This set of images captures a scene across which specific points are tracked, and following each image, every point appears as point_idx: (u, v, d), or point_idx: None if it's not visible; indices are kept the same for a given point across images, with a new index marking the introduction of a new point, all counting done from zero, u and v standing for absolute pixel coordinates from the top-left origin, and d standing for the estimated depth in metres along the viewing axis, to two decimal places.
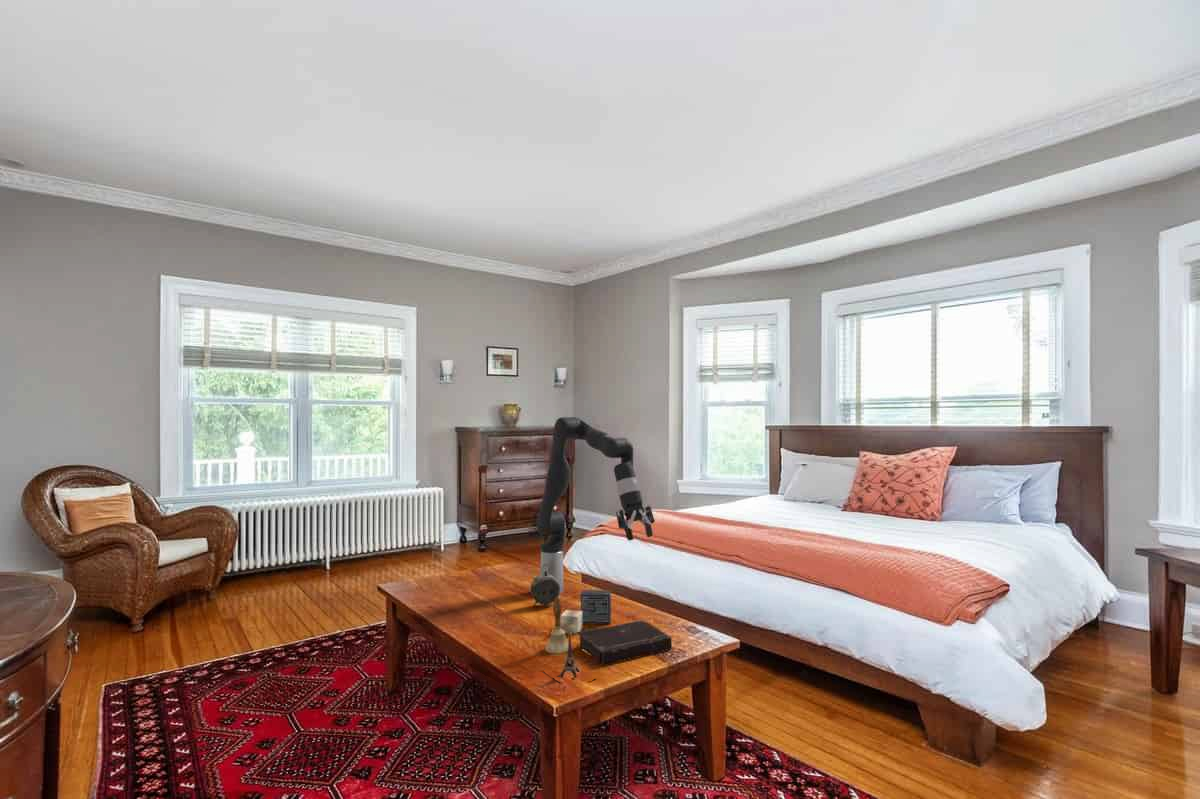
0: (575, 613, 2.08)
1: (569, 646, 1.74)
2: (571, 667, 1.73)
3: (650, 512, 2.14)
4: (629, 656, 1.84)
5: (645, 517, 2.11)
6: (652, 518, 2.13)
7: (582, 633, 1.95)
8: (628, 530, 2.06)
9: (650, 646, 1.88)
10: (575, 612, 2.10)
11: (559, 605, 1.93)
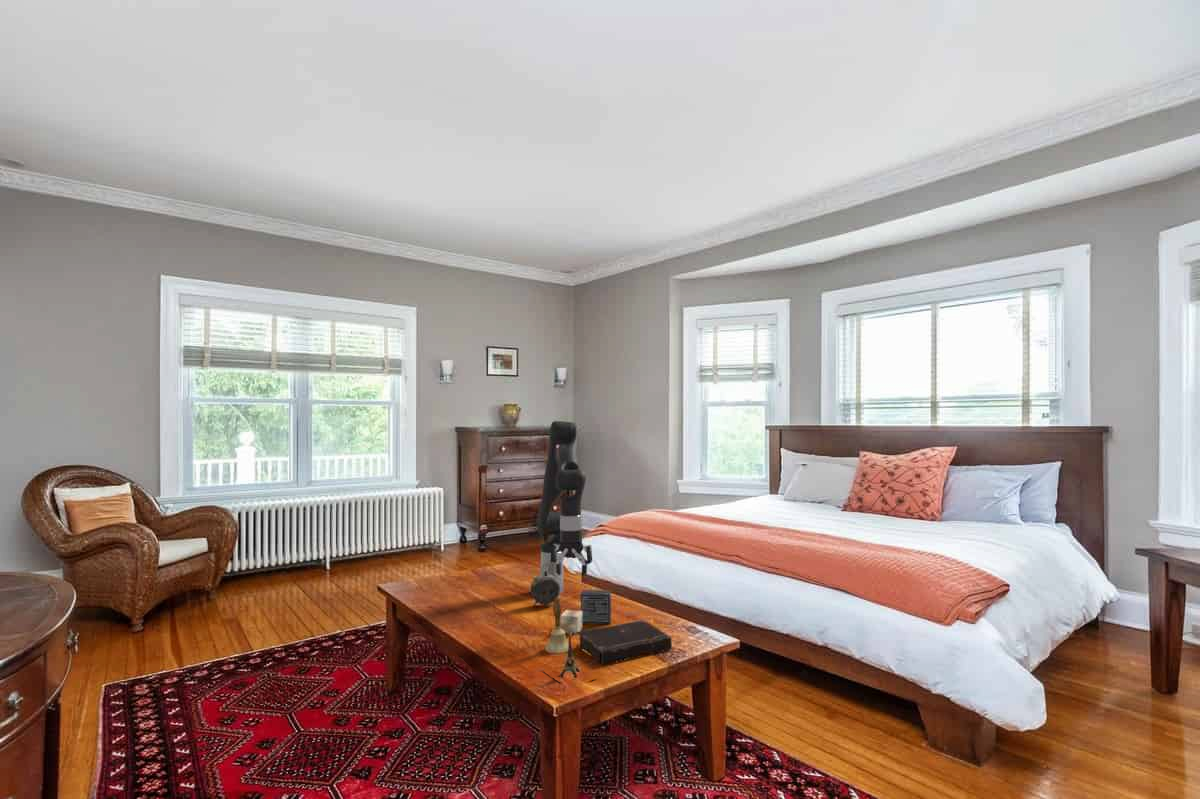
0: (575, 613, 2.08)
1: (569, 646, 1.74)
2: (571, 667, 1.73)
3: (588, 553, 2.07)
4: (629, 656, 1.84)
5: (578, 557, 2.07)
6: (588, 559, 2.07)
7: (582, 633, 1.95)
8: (557, 565, 2.10)
9: (649, 646, 1.88)
10: (575, 612, 2.10)
11: (559, 605, 1.93)
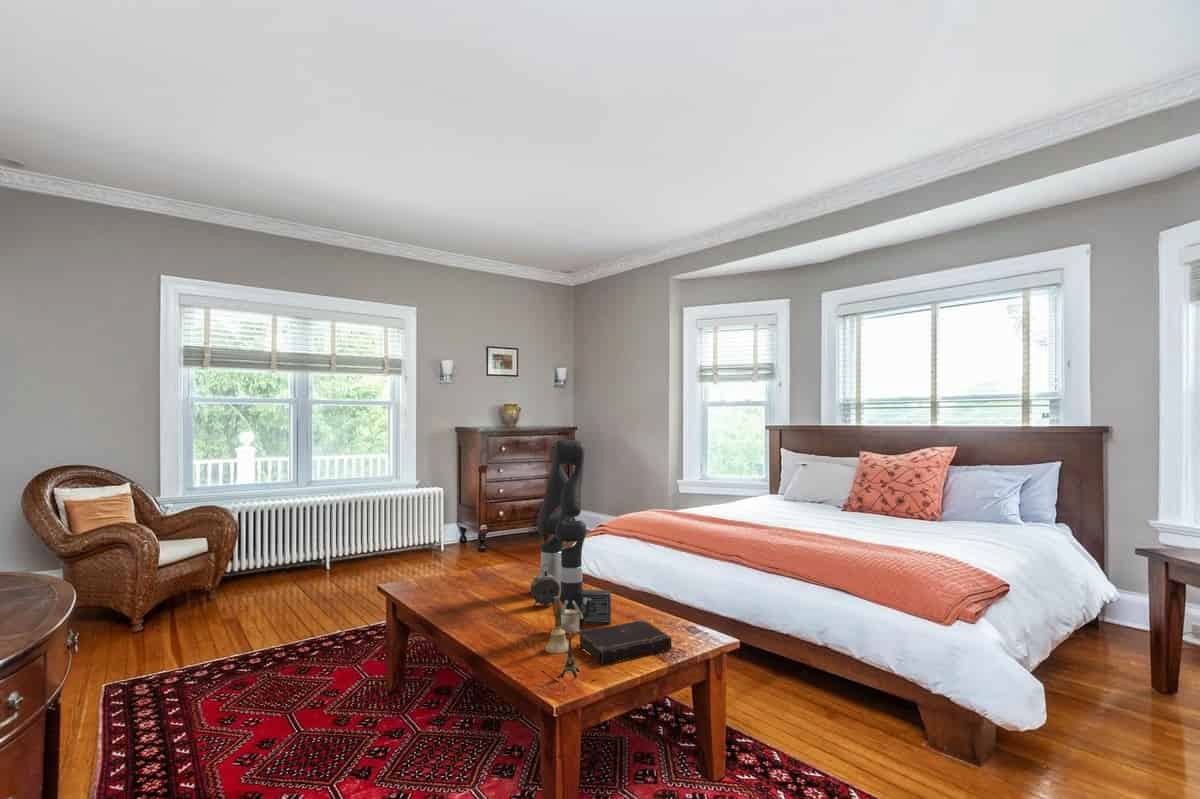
0: (575, 613, 2.08)
1: (569, 646, 1.74)
2: (571, 667, 1.72)
3: (587, 606, 2.06)
4: (629, 656, 1.84)
5: (577, 610, 2.07)
6: (586, 613, 2.06)
7: (582, 633, 1.95)
8: (560, 618, 2.09)
9: (649, 646, 1.88)
10: (575, 612, 2.10)
11: (559, 605, 1.93)
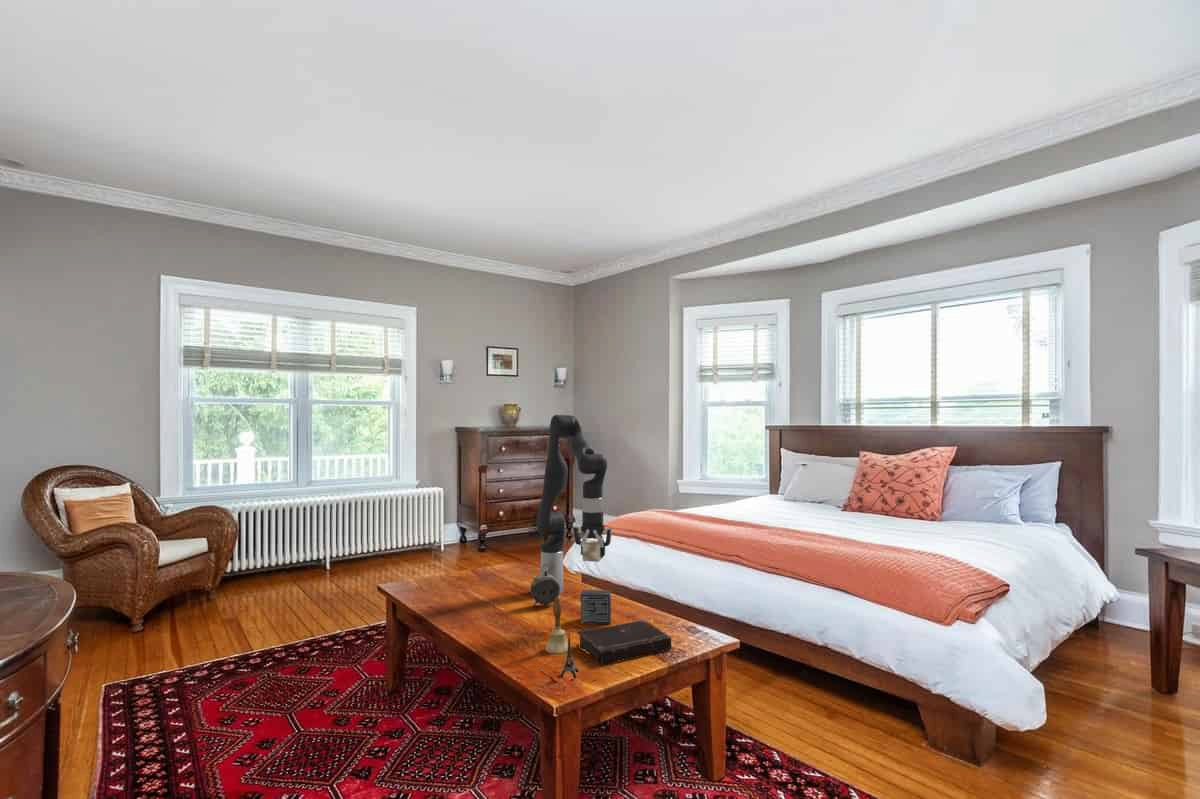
0: (596, 542, 2.17)
1: (569, 647, 1.73)
2: (571, 668, 1.72)
3: (607, 535, 2.15)
4: (628, 656, 1.84)
5: (598, 539, 2.16)
6: (607, 541, 2.15)
7: (582, 633, 1.95)
8: (581, 547, 2.18)
9: (649, 646, 1.88)
10: (596, 541, 2.19)
11: (559, 605, 1.93)
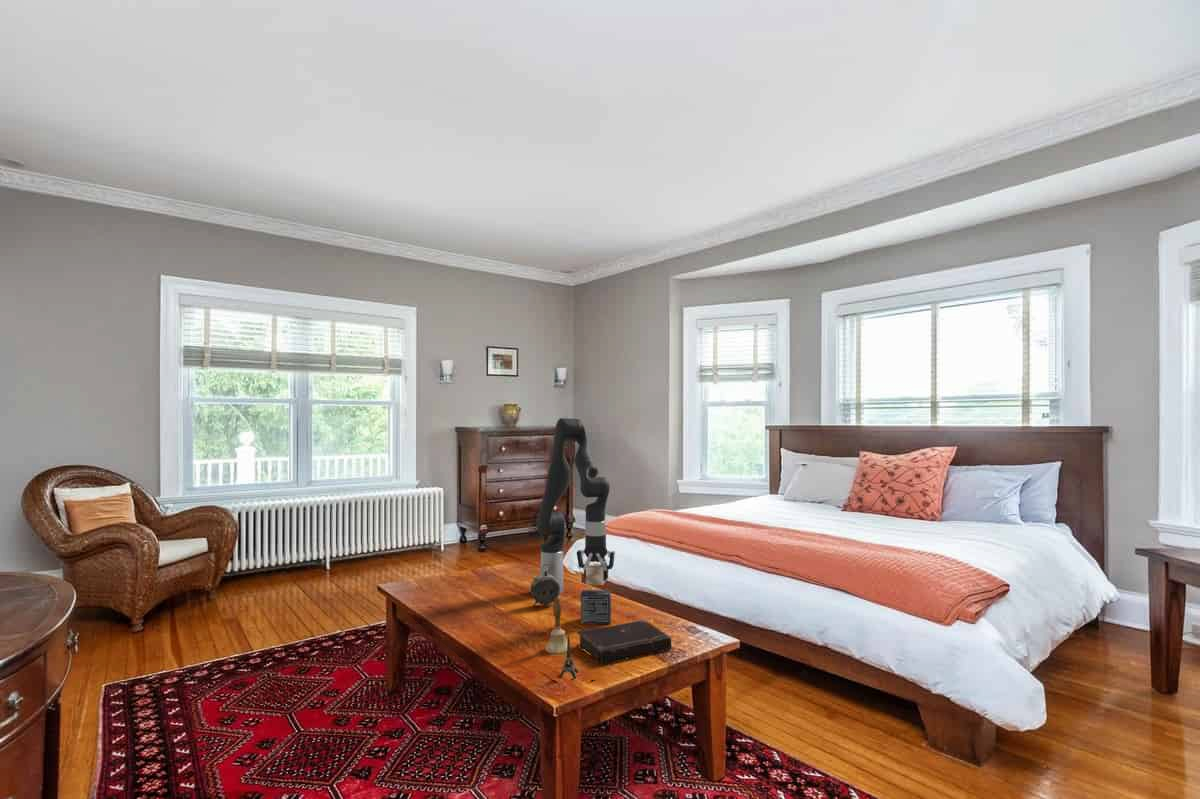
0: (599, 565, 2.18)
1: (568, 647, 1.73)
2: (570, 668, 1.72)
3: (611, 558, 2.16)
4: (628, 656, 1.84)
5: (601, 562, 2.16)
6: (610, 565, 2.16)
7: (582, 632, 1.95)
8: (584, 570, 2.19)
9: (649, 646, 1.88)
10: (599, 565, 2.19)
11: (559, 605, 1.93)
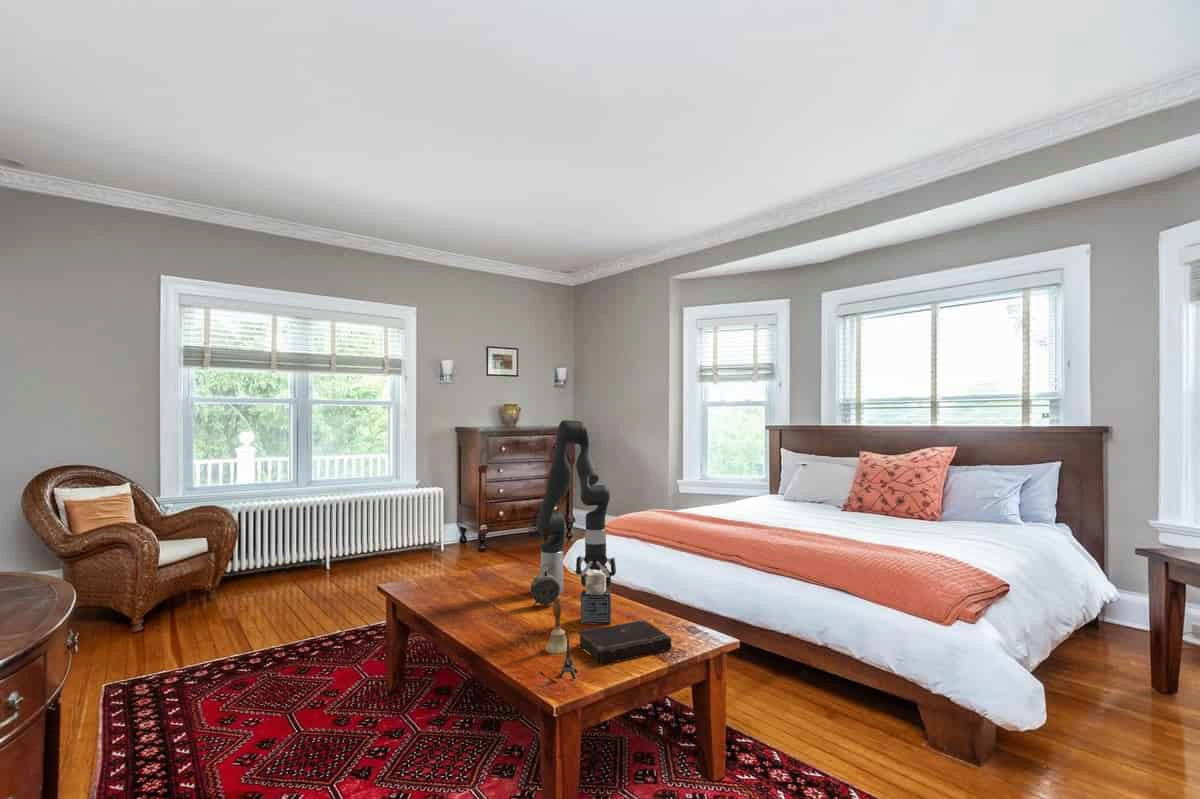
0: (599, 575, 2.18)
1: (567, 647, 1.73)
2: (569, 668, 1.72)
3: (612, 565, 2.16)
4: (628, 656, 1.84)
5: (602, 569, 2.16)
6: (612, 571, 2.16)
7: (582, 632, 1.95)
8: (582, 577, 2.19)
9: (649, 646, 1.88)
10: (599, 574, 2.19)
11: (559, 605, 1.93)
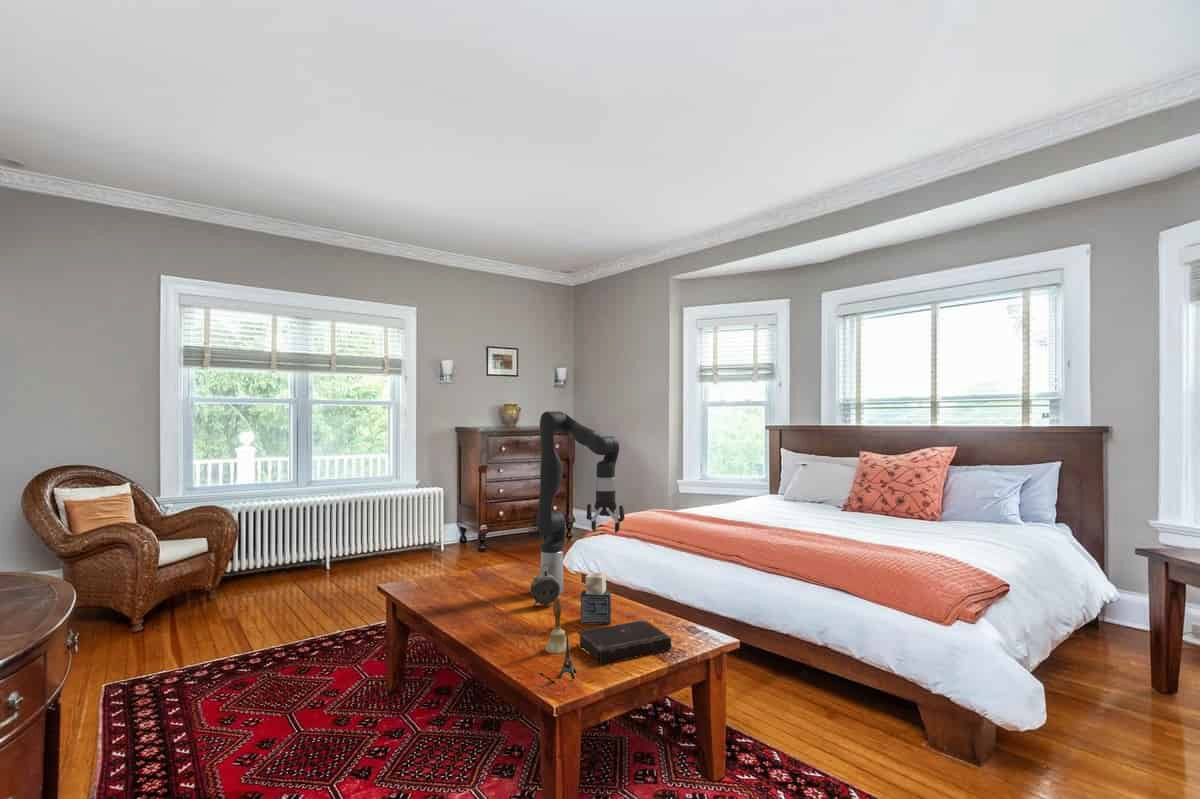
0: (599, 575, 2.18)
1: (567, 647, 1.73)
2: (569, 668, 1.72)
3: (620, 511, 2.28)
4: (628, 656, 1.84)
5: (612, 515, 2.28)
6: (621, 517, 2.28)
7: (582, 632, 1.95)
8: (592, 522, 2.31)
9: (649, 646, 1.88)
10: (599, 574, 2.19)
11: (559, 605, 1.93)
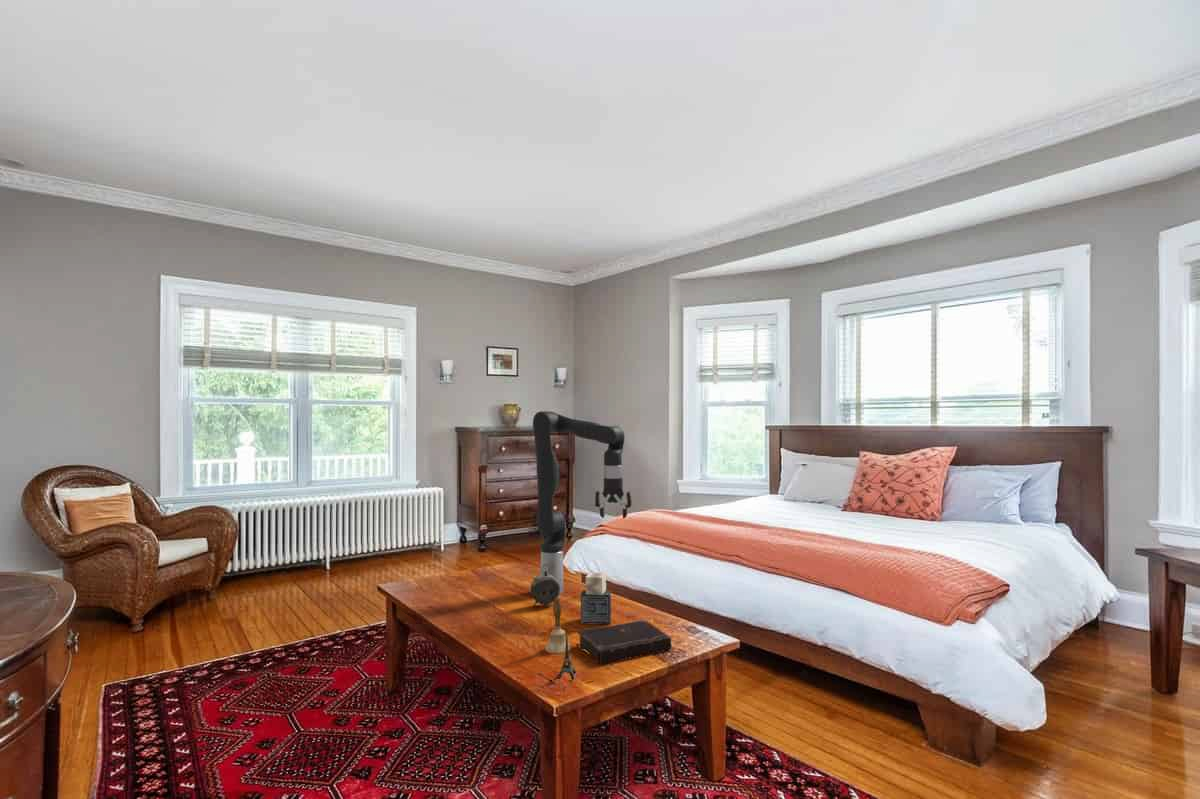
0: (599, 575, 2.18)
1: (566, 648, 1.73)
2: (568, 669, 1.72)
3: (628, 498, 2.37)
4: (627, 656, 1.84)
5: (619, 501, 2.38)
6: (628, 503, 2.37)
7: (582, 632, 1.96)
8: (600, 509, 2.40)
9: (649, 646, 1.88)
10: (599, 574, 2.19)
11: (559, 605, 1.93)
